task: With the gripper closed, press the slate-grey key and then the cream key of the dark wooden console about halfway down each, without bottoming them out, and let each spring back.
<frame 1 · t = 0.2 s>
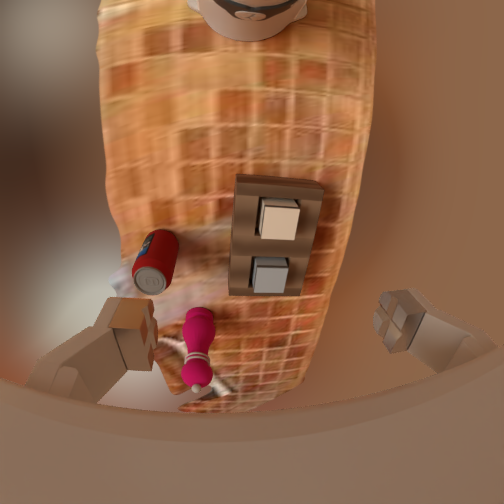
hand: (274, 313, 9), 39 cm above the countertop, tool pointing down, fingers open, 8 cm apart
beverage can: (162, 242, 51), on the countertop
pepper mill: (199, 316, 62), on the countertop
cream key: (277, 217, 45), point 5 cm above the countertop, slide at 0.1 cm
console: (268, 233, 52), on the countertop
slate key: (268, 272, 51), point 5 cm above the countertop, slide at 0.0 cm
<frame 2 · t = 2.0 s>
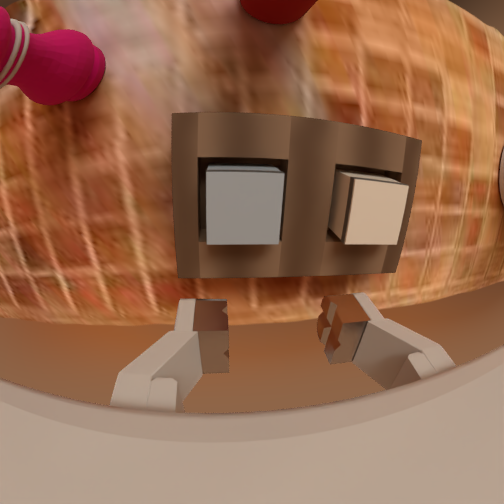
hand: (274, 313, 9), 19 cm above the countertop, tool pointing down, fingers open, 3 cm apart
beverage can: (272, 1, 18), on the countertop
pepper mill: (80, 72, 19), on the countertop
cream key: (364, 205, 23), point 5 cm above the countertop, slide at 0.1 cm
console: (293, 189, 27), on the countertop
slate key: (241, 200, 22), point 5 cm above the countertop, slide at 0.0 cm
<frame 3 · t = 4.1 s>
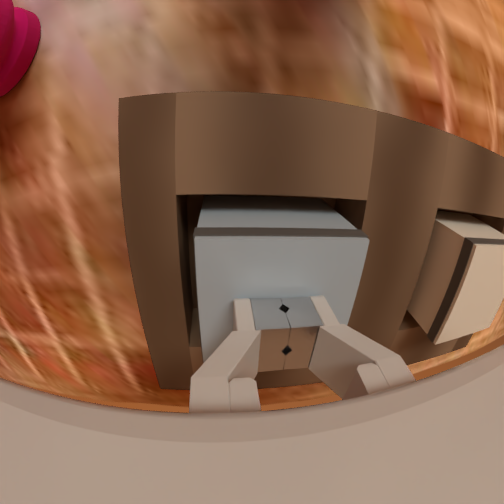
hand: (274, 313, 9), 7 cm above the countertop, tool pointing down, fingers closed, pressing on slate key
pepper mill: (9, 54, 8), on the countertop
cream key: (458, 271, 12), point 5 cm above the countertop, slide at 0.1 cm
console: (346, 235, 16), on the countertop
slate key: (268, 275, 11), point 4 cm above the countertop, slide at 0.4 cm, touching console, gripper
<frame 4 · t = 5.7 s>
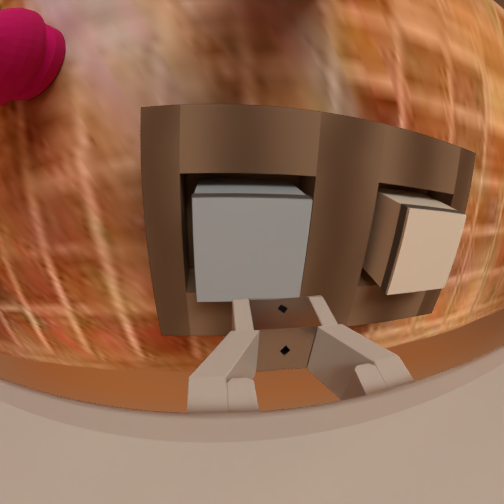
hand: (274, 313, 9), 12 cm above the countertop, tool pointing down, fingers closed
pepper mill: (36, 63, 12), on the countertop
cream key: (409, 237, 17), point 5 cm above the countertop, slide at 0.1 cm
console: (313, 211, 20), on the countertop
slate key: (246, 234, 15), point 5 cm above the countertop, slide at 0.3 cm
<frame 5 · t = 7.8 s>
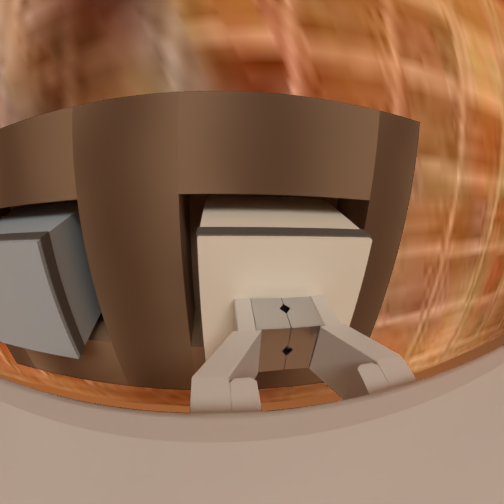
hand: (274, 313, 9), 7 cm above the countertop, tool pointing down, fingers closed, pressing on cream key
cream key: (271, 275, 11), point 4 cm above the countertop, slide at 0.4 cm, touching console, gripper
console: (159, 234, 15), on the countertop
slate key: (38, 273, 10), point 5 cm above the countertop, slide at 0.3 cm
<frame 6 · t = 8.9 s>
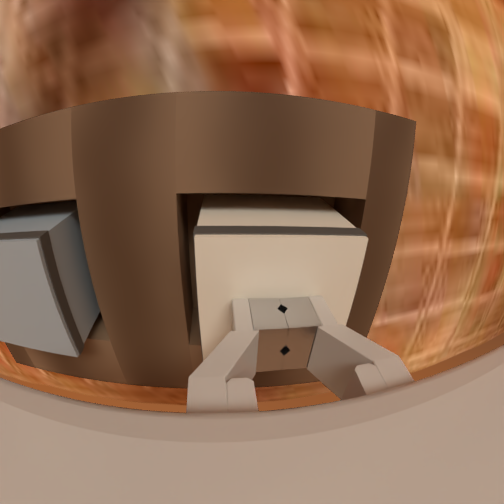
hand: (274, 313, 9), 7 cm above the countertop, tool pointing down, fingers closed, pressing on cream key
cream key: (268, 274, 11), point 4 cm above the countertop, slide at 0.4 cm, touching console, gripper
console: (157, 233, 15), on the countertop
slate key: (37, 272, 10), point 5 cm above the countertop, slide at 0.3 cm
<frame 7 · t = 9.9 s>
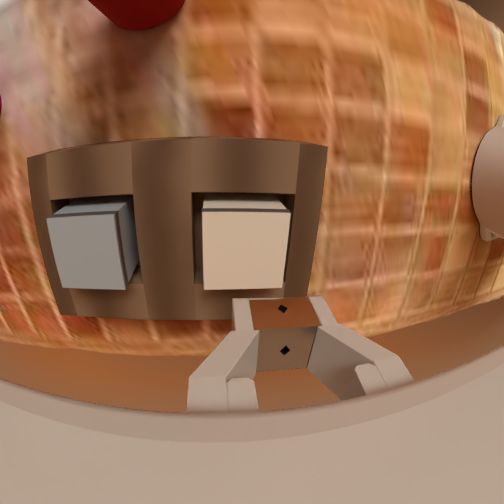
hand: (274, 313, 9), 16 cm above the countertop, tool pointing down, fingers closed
beverage can: (149, 3, 15), on the countertop
cream key: (241, 238, 20), point 4 cm above the countertop, slide at 0.4 cm, touching console
console: (173, 218, 23), on the countertop
slate key: (96, 240, 18), point 5 cm above the countertop, slide at 0.3 cm
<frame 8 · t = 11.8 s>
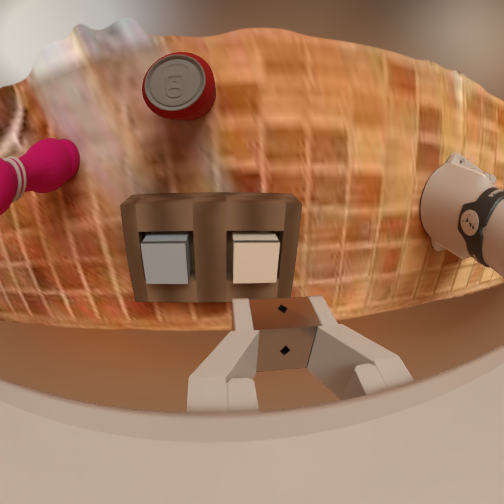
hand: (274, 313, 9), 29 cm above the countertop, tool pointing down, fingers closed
beverage can: (189, 96, 30), on the countertop
pepper mill: (63, 159, 31), on the countertop
cream key: (253, 254, 36), point 4 cm above the countertop, slide at 0.4 cm, touching console
console: (211, 240, 39), on the countertop
slate key: (167, 255, 34), point 5 cm above the countertop, slide at 0.3 cm
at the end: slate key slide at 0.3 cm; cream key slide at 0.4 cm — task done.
